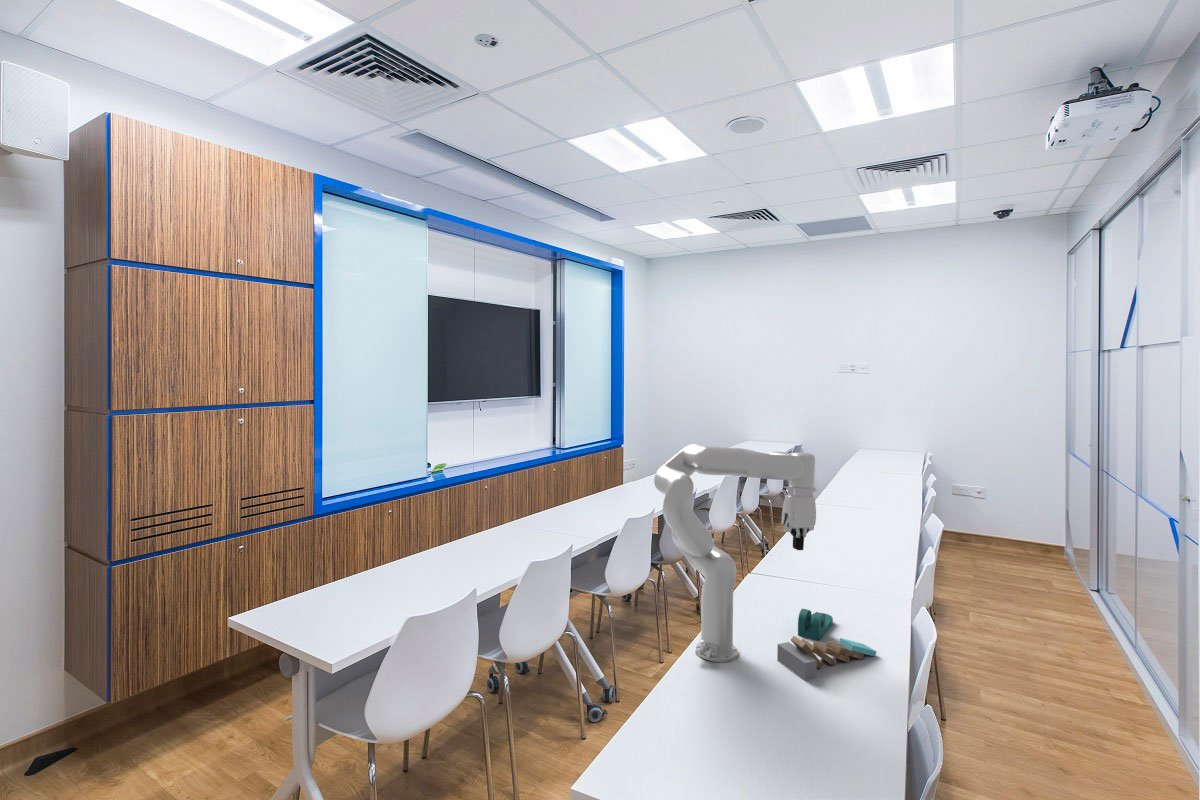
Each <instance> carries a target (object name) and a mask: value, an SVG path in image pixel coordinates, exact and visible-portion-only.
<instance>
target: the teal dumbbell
mask: <svg viewBox="0 0 1200 800" xmlns="http://www.w3.org/2000/svg"><path fill="white" fill-rule="evenodd" d="M797 619H798V620H797V636H798V635H799V636H798V637H802V638H805V637H806V639H809V638H810V640H813V641H814V640H815V641H817V642H821V640H822V639H823V638H824V636H825V635H826V633H827V632H828V631H829V630H830V629H831V628H832V627H833V625H834V623H833V622H834V620H833V619H834V617H833V616H832V615H830V614H827V613H824V612H818V611H815V612H813V613H812V611H811V610H810V609H808V608H807V609H806V608H801V609H800V610H799V613H798V618H797Z"/></svg>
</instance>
